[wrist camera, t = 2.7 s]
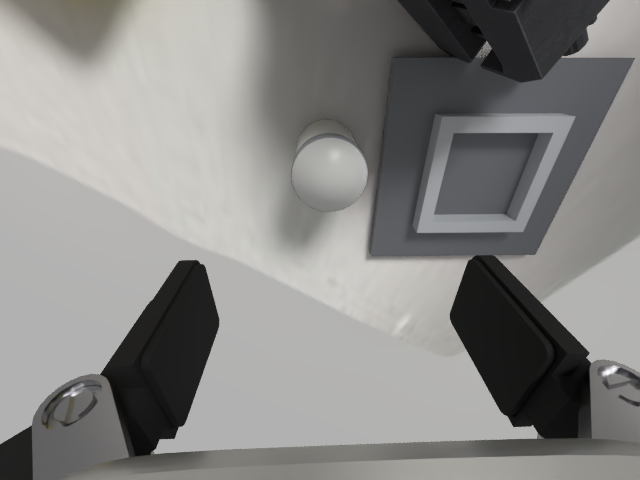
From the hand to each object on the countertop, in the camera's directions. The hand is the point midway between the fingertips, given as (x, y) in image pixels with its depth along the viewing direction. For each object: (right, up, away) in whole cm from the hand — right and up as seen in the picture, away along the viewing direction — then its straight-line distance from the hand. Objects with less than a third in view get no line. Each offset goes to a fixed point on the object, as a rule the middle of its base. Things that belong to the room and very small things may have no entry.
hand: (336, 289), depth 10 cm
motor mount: (+14, +8, +16) cm, 23 cm away
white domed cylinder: (0, +10, +15) cm, 18 cm away
